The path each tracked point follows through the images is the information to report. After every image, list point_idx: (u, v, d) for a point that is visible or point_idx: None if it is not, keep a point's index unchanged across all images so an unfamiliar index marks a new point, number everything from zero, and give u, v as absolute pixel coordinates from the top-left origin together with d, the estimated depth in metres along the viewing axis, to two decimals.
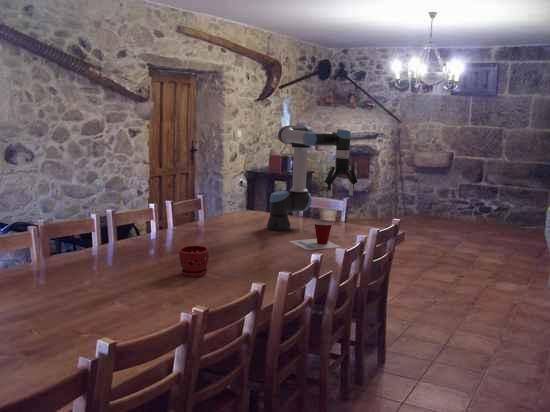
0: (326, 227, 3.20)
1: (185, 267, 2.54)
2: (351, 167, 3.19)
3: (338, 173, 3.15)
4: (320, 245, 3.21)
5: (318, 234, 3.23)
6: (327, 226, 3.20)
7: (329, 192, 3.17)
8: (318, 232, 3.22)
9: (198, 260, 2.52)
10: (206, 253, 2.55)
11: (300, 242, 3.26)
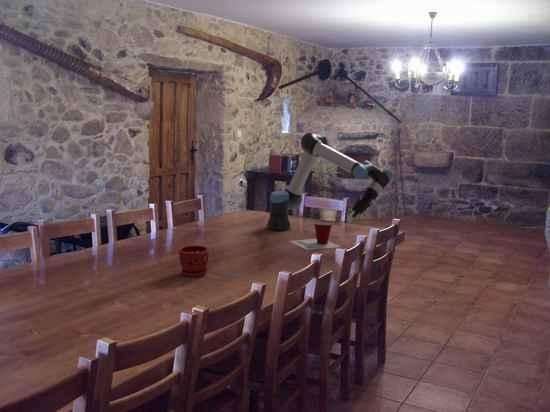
0: (326, 227, 3.20)
1: (185, 267, 2.54)
2: None
3: None
4: (320, 245, 3.21)
5: (318, 234, 3.23)
6: (327, 226, 3.20)
7: (351, 218, 3.31)
8: (318, 232, 3.22)
9: (198, 260, 2.52)
10: (206, 253, 2.55)
11: (300, 242, 3.26)
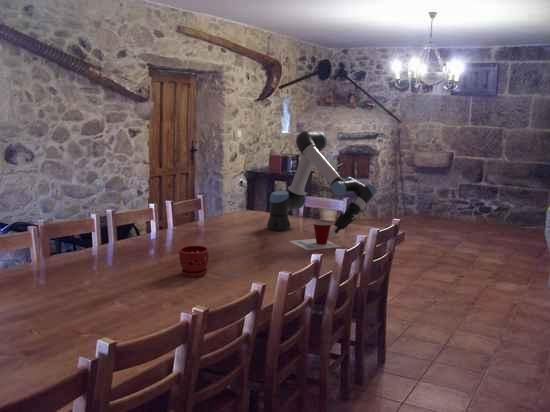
0: (325, 227, 3.20)
1: (185, 267, 2.54)
2: None
3: None
4: (320, 245, 3.21)
5: (317, 234, 3.22)
6: (326, 226, 3.20)
7: (333, 233, 3.27)
8: (317, 232, 3.22)
9: (198, 260, 2.52)
10: (206, 253, 2.55)
11: (300, 242, 3.26)
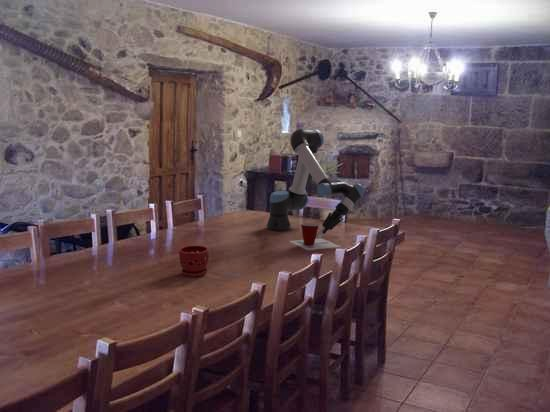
0: (312, 228, 3.17)
1: (185, 267, 2.54)
2: None
3: None
4: (320, 245, 3.21)
5: (304, 235, 3.19)
6: (313, 227, 3.17)
7: (320, 234, 3.24)
8: (304, 233, 3.19)
9: (198, 260, 2.52)
10: (206, 253, 2.55)
11: (300, 242, 3.26)
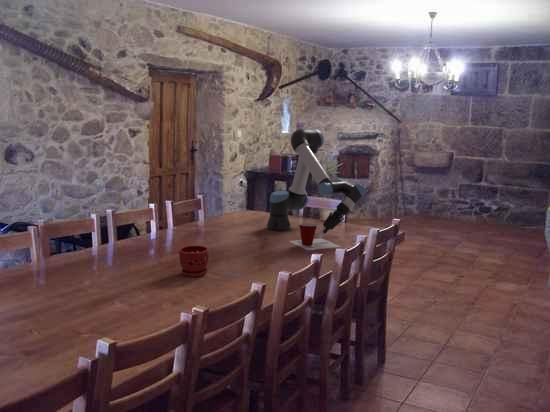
0: (310, 228, 3.16)
1: (185, 267, 2.54)
2: None
3: None
4: (320, 245, 3.21)
5: (303, 235, 3.19)
6: (311, 227, 3.16)
7: (321, 234, 3.24)
8: (303, 233, 3.18)
9: (198, 260, 2.52)
10: (206, 253, 2.55)
11: (300, 242, 3.26)
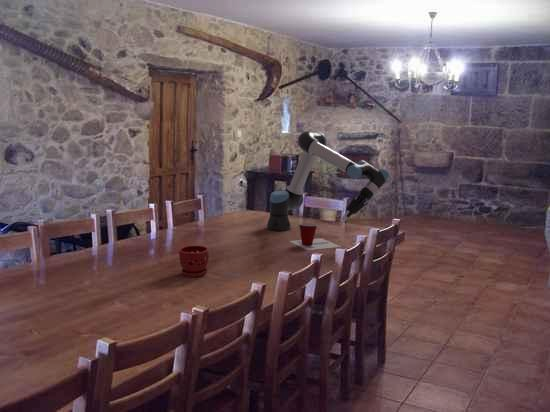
0: (310, 228, 3.16)
1: (185, 267, 2.54)
2: None
3: None
4: (320, 245, 3.21)
5: (303, 235, 3.19)
6: (311, 227, 3.16)
7: (345, 217, 3.28)
8: (303, 233, 3.18)
9: (198, 260, 2.52)
10: (206, 253, 2.55)
11: (300, 242, 3.26)
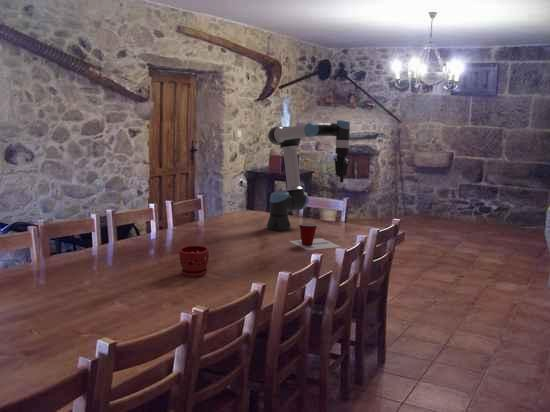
0: (310, 228, 3.16)
1: (185, 267, 2.54)
2: None
3: None
4: (320, 245, 3.21)
5: (303, 235, 3.19)
6: (311, 227, 3.16)
7: (340, 184, 3.35)
8: (302, 233, 3.18)
9: (198, 260, 2.52)
10: (206, 253, 2.55)
11: (300, 242, 3.26)
